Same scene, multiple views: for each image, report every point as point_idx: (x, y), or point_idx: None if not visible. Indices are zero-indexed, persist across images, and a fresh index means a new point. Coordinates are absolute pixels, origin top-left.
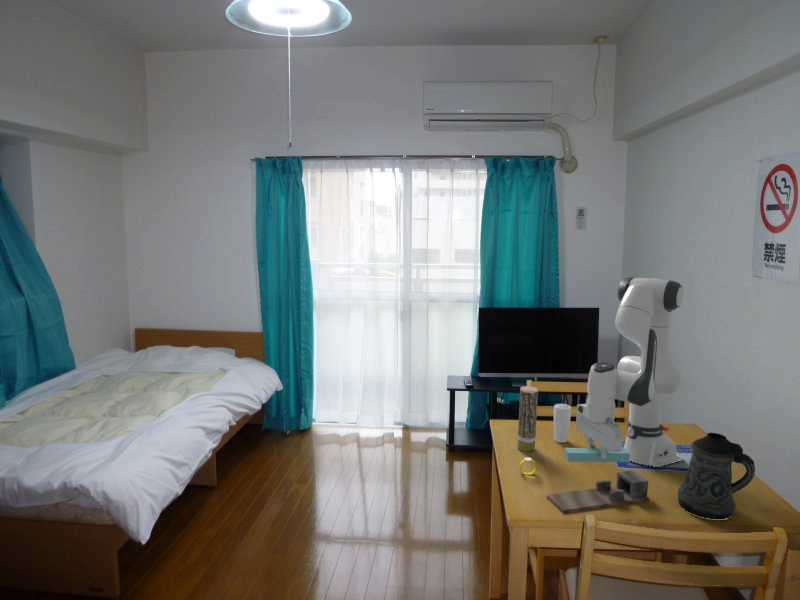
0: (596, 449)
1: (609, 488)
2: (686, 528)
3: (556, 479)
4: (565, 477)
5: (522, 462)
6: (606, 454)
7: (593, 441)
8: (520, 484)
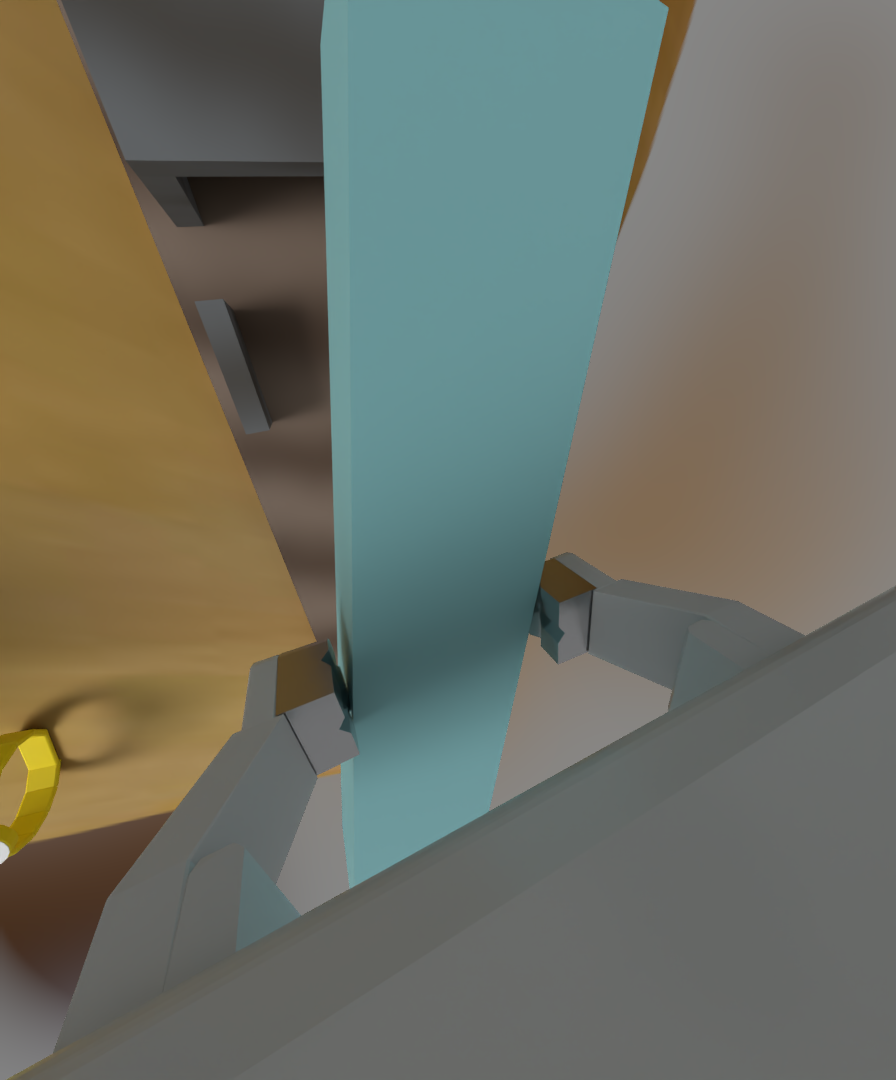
0: (409, 658)
1: (235, 319)
2: (652, 82)
3: (81, 611)
4: (18, 552)
5: (15, 853)
6: (598, 572)
7: (245, 779)
8: (203, 759)
